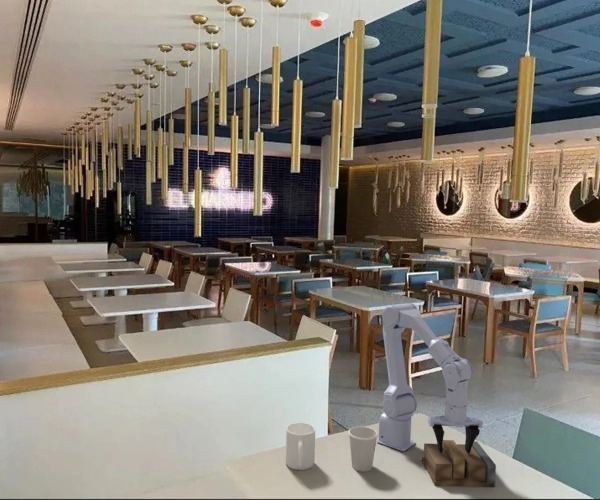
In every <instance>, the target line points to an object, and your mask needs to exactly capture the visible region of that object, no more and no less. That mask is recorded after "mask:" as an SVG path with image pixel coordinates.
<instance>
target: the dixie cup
mask: <svg viewBox="0 0 600 500" xmlns="http://www.w3.org/2000/svg"><path fill="white" fill-rule="evenodd" d="M347 433H348V435H349V447H350V457H351V459H350V460H351V461H350V462H351V467H352V468H353V469H354V470H355V471H356V472H362V473H363V472H369V471H371V470H372V469H373V464H374V458H375V451H376V444H377V441H378V440H377V439H378V438H379V431H377V430H375V428H373V427H369V426H361V425H360V426H354V427H351V428H349V430H348V432H347Z"/></svg>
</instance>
